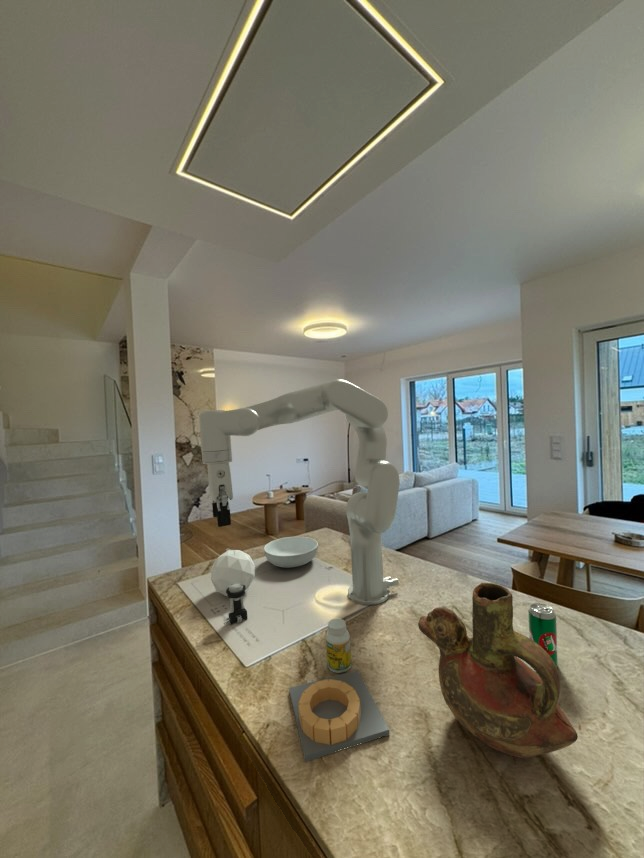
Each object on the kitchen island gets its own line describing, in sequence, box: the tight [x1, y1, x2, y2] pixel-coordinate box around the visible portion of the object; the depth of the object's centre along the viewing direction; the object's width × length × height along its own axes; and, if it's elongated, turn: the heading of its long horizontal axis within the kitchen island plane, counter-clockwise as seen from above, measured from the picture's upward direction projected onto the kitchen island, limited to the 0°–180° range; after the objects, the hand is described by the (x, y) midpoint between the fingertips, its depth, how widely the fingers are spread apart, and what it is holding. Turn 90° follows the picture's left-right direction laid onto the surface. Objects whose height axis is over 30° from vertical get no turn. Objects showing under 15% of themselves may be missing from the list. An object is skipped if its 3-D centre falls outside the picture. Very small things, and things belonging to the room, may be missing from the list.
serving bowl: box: [263, 536, 319, 568], centre depth 135 cm, size 21×21×7 cm
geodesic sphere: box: [210, 547, 256, 597], centre depth 114 cm, size 15×14×14 cm
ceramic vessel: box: [417, 582, 578, 759], centre depth 61 cm, size 17×26×25 cm, turn 45°
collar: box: [298, 679, 361, 745], centre depth 64 cm, size 11×11×2 cm
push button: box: [223, 582, 248, 625], centre depth 97 cm, size 7×5×10 cm
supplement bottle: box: [325, 618, 352, 674], centre depth 78 cm, size 5×5×10 cm
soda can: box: [528, 602, 559, 667], centre depth 75 cm, size 5×5×12 cm
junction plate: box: [288, 669, 391, 762], centre depth 66 cm, size 15×15×1 cm
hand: (221, 520), depth 93 cm, fingers open, 9 cm apart
